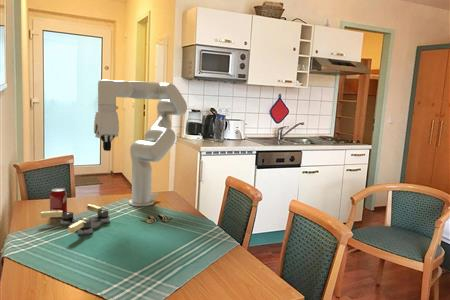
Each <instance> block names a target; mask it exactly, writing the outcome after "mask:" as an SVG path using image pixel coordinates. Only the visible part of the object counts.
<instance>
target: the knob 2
mask: <svg viewBox="0 0 450 300" xmlns="http://www.w3.org/2000/svg"><path fill="white" fill-rule="evenodd" d="M85 207H86V209H87V210H88V211H91V212H94V213H95V214H97V216H98V218H100V219H104V218H108V216H109V210H108V209H102V207H101V206H97V205H95V204H90V203H89V204H87V205H86V206H85Z"/></svg>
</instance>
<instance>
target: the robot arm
mask: <svg viewBox="0 0 450 300" xmlns="http://www.w3.org/2000/svg"><path fill="white" fill-rule="evenodd" d="M117 98H122V99H123V98H128V99H136V100H137V99H138V100H158V102H157V105H156V109H157V110H156V111H157V117H156V120H155V122H153V124H152V125H151V126H150V127H149V128H148V130H146V132H145V134H144V137H143V138H144V140H136V141H133V142H132V143H131V145H130V148H129V154H130V159H131V199H129V200H128V204H129V205H130V206H132V207H133V206H134V207H149V206H152V205H154V203H155V200H154V198H159V193H158V192H157V193H153V192H152V175H153V174H152V171H153V169H152V165H151V163H157V162H160V161H161V160H163V158H165V156H166V155H167V154H168V152H169V151H170V149H171V148H172V147H173V146H174V144H175V141H176V134H175V131H174V130H173V129H172V121H171V117H170V115H171V116H183V115H185V114H186V113H187V110H188V105H187V101H186V100H185V98H184V97H183V95H182V93H181V92H180V90H179V89H178V87H176V85H175V84H174V83H171V82H155V81H143V80H142V81H141V80H140V81H139V80H138V81H137V80H135V81H131V80H130V81H129V80H128V81H127V80H117V79H115V80H113V79H100V80H98V82H97V111H95V116H94V121H93V123H94V124H93V133H94V134H95V138H98V139H100V140H101V141H102V149H103V151H106V152H111V149H112V142H113V140H114V139H115V138H117V137H119V132H120V122H119V121H120V120H119V115H118V112H117V110H118V109H119V106H117Z"/></svg>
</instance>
